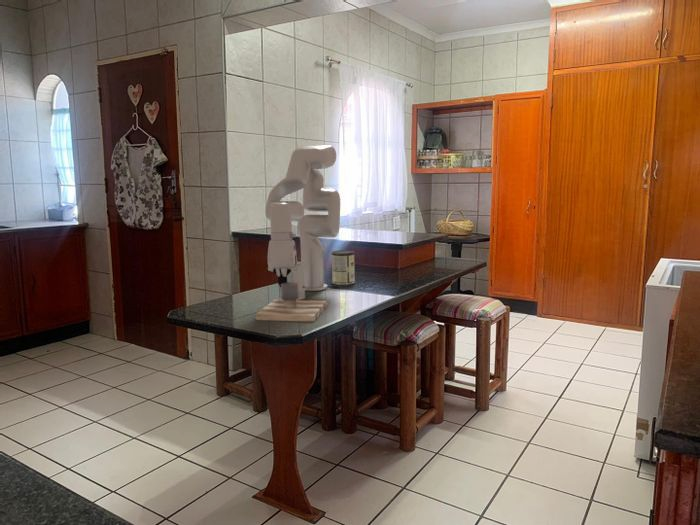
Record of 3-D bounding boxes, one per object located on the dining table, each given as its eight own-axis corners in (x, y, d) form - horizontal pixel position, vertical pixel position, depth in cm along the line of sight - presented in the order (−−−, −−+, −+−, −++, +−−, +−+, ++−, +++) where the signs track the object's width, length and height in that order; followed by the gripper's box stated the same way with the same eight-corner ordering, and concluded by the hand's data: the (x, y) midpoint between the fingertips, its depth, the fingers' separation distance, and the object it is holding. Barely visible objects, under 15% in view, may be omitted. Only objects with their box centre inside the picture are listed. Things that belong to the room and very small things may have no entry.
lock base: (274, 304, 204) (274, 291, 203) (326, 306, 201) (326, 292, 200) (255, 320, 182) (255, 305, 181) (314, 321, 179) (313, 306, 178)
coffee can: (333, 280, 250) (333, 250, 248) (355, 280, 249) (355, 250, 247) (330, 284, 240) (330, 253, 238) (353, 284, 239) (353, 253, 237)
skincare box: (293, 302, 207) (292, 264, 204) (280, 301, 210) (279, 263, 207) (305, 298, 214) (304, 261, 212) (293, 296, 217) (292, 260, 214)
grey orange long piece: (296, 300, 187) (295, 285, 187) (279, 299, 188) (278, 285, 187) (305, 291, 201) (304, 278, 200) (289, 291, 202) (289, 278, 201)
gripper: (304, 235, 198) (305, 285, 201) (264, 235, 200) (266, 284, 203) (299, 238, 191) (300, 289, 193) (258, 238, 193) (260, 288, 196)
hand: (282, 286), depth 198 cm, fingers closed
